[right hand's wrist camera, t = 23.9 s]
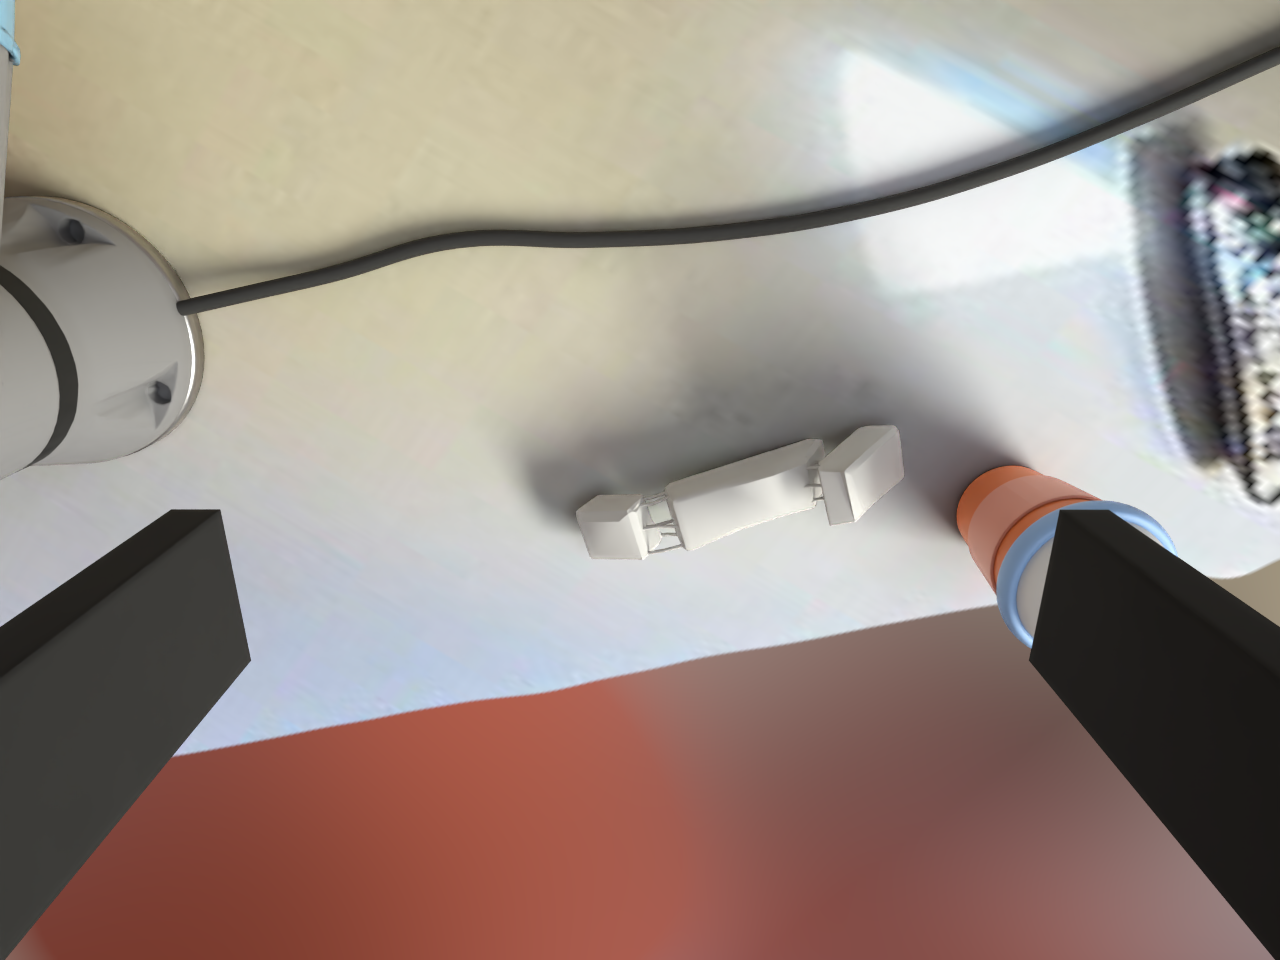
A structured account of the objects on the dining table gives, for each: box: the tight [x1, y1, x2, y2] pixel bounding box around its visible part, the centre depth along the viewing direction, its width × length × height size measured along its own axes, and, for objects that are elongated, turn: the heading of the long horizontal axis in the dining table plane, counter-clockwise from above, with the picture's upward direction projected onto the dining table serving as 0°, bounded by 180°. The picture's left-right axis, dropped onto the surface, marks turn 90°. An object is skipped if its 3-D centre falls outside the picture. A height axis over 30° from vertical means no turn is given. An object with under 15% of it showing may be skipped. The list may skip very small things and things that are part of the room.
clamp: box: [576, 425, 905, 560], centre depth 47 cm, size 20×4×7 cm, turn 106°
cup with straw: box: [957, 466, 1178, 648], centre depth 42 cm, size 9×9×18 cm
